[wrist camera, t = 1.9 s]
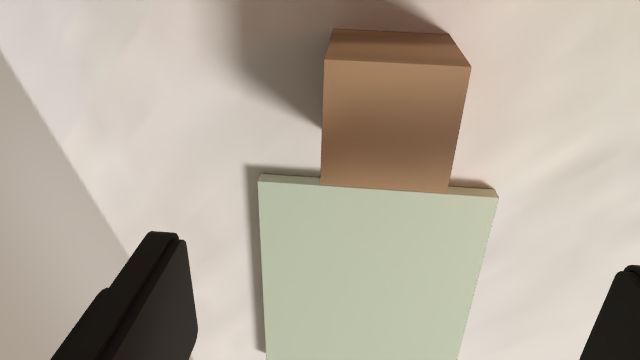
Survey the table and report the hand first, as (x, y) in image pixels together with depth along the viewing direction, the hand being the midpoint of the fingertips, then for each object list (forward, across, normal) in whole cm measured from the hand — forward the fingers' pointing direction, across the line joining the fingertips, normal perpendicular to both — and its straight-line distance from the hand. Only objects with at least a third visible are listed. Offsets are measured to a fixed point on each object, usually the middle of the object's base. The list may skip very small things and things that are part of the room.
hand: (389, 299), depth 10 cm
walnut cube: (+13, 0, -1) cm, 13 cm away
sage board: (+13, 0, +11) cm, 17 cm away
